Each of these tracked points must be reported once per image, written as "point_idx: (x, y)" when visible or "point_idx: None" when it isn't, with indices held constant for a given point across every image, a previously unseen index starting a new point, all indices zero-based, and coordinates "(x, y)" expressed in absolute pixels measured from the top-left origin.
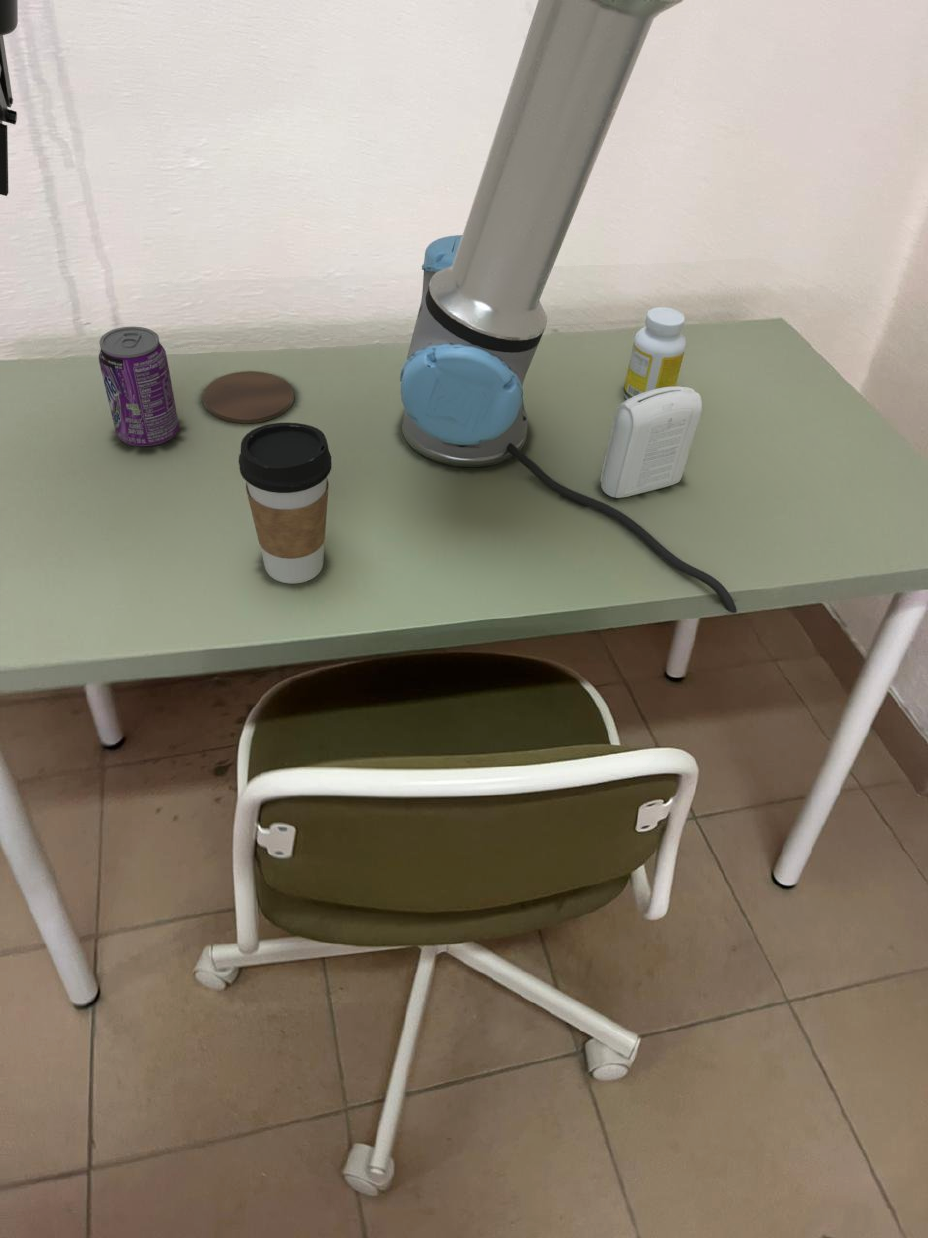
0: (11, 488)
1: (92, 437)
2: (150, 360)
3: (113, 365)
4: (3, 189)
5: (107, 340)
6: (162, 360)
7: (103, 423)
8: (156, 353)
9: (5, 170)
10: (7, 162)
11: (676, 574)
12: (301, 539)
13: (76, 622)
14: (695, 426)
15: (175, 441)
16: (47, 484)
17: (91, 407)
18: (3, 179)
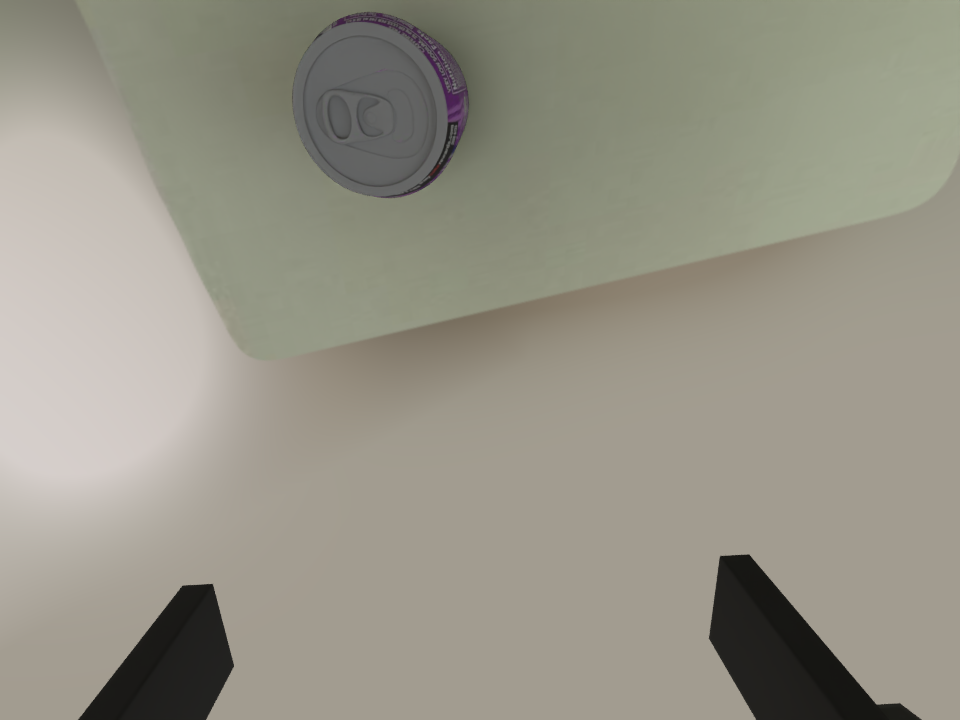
0: (563, 291)
1: (431, 205)
2: (423, 46)
3: (449, 149)
4: (202, 610)
5: (372, 178)
6: (393, 17)
7: None
8: (394, 29)
9: (147, 682)
10: (96, 709)
11: None
12: None
13: (899, 129)
14: None
15: None
16: (557, 246)
17: (345, 225)
18: (177, 647)
